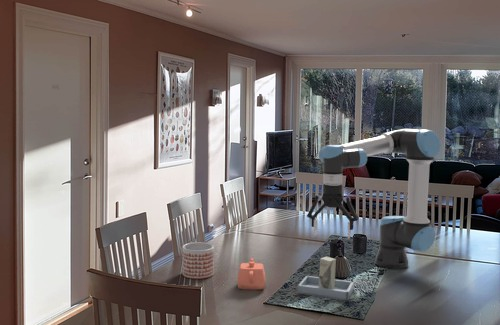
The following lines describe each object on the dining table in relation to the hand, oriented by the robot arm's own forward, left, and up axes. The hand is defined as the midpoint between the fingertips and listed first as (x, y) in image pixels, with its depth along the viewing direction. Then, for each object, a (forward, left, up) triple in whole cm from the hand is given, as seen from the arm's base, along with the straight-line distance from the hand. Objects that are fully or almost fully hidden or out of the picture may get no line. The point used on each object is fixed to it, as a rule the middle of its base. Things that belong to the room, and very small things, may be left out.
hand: (332, 236), depth 205 cm
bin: (+3, -1, -22) cm, 22 cm away
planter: (+3, -58, -22) cm, 62 cm away
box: (+3, -1, -22) cm, 22 cm away
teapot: (+8, -31, -22) cm, 39 cm away
